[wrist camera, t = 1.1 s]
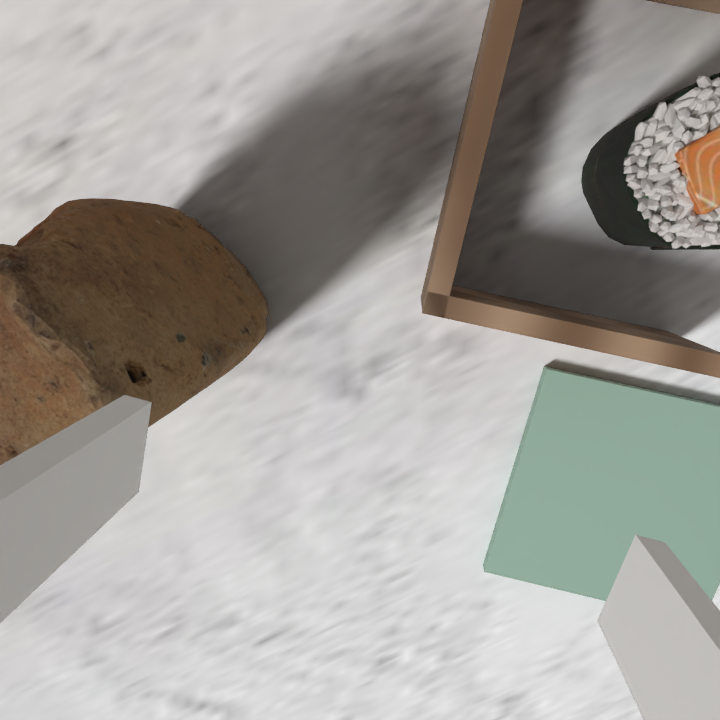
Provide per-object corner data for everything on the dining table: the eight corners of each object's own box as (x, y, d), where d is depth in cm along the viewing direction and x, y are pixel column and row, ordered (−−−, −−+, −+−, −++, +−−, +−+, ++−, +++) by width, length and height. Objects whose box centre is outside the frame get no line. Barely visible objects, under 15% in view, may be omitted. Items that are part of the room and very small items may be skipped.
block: (291, 328, 36) (151, 440, 17) (208, 381, 38) (-5, 536, 19) (201, 192, 35) (-64, 146, 15) (118, 253, 36) (-216, 279, 17)
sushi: (748, 198, 32) (856, 188, 24) (617, 269, 33) (678, 280, 26) (694, 74, 30) (789, 21, 23) (561, 154, 32) (607, 130, 24)
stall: (421, 297, 35) (422, 313, 28) (502, -52, 30) (528, -135, 23) (662, 349, 34) (723, 378, 27) (789, 1, 29) (904, -69, 22)
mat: (544, 366, 35) (547, 369, 34) (783, 418, 34) (791, 423, 34) (483, 564, 39) (484, 571, 39) (695, 616, 39) (701, 623, 38)
